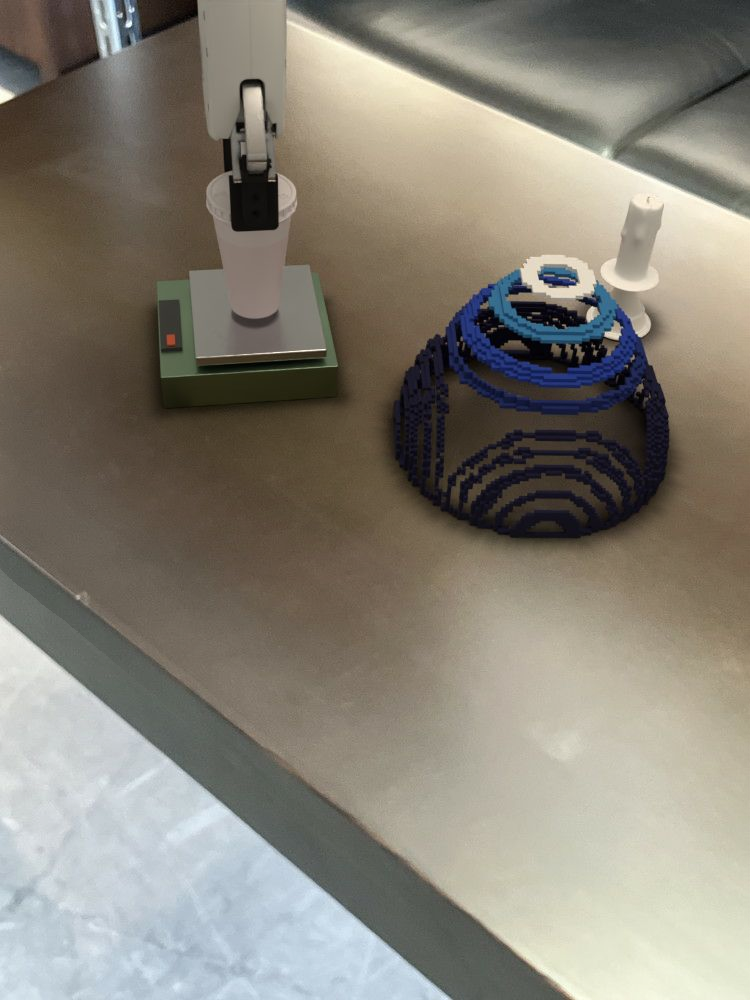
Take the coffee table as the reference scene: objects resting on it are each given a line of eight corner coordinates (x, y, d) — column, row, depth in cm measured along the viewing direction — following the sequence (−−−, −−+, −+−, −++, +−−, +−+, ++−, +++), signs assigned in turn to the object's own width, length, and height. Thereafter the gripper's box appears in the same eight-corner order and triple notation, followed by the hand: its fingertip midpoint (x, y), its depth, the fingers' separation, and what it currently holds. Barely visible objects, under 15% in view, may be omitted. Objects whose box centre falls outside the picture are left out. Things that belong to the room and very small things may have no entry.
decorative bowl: (636, 354, 93) (678, 196, 82) (691, 538, 79) (750, 375, 68) (388, 350, 91) (399, 189, 81) (400, 536, 78) (415, 370, 67)
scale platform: (196, 366, 84) (195, 357, 83) (189, 278, 91) (188, 270, 91) (326, 358, 85) (327, 349, 84) (309, 272, 93) (309, 264, 92)
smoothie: (259, 269, 90) (255, 101, 80) (314, 306, 87) (317, 137, 77) (195, 301, 87) (181, 130, 77) (249, 340, 84) (243, 168, 74)
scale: (164, 408, 85) (160, 372, 83) (159, 311, 94) (156, 276, 91) (337, 396, 87) (338, 361, 85) (318, 302, 95) (318, 267, 93)
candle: (649, 346, 93) (684, 217, 85) (583, 336, 94) (612, 207, 85) (651, 308, 97) (685, 181, 88) (588, 298, 98) (616, 171, 89)
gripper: (172, -118, 73) (191, 141, 86) (183, -6, 61) (203, 274, 74) (289, -118, 74) (290, 137, 87) (322, -8, 63) (318, 268, 75)
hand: (250, 198), depth 81 cm, fingers closed on smoothie, 6 cm apart
